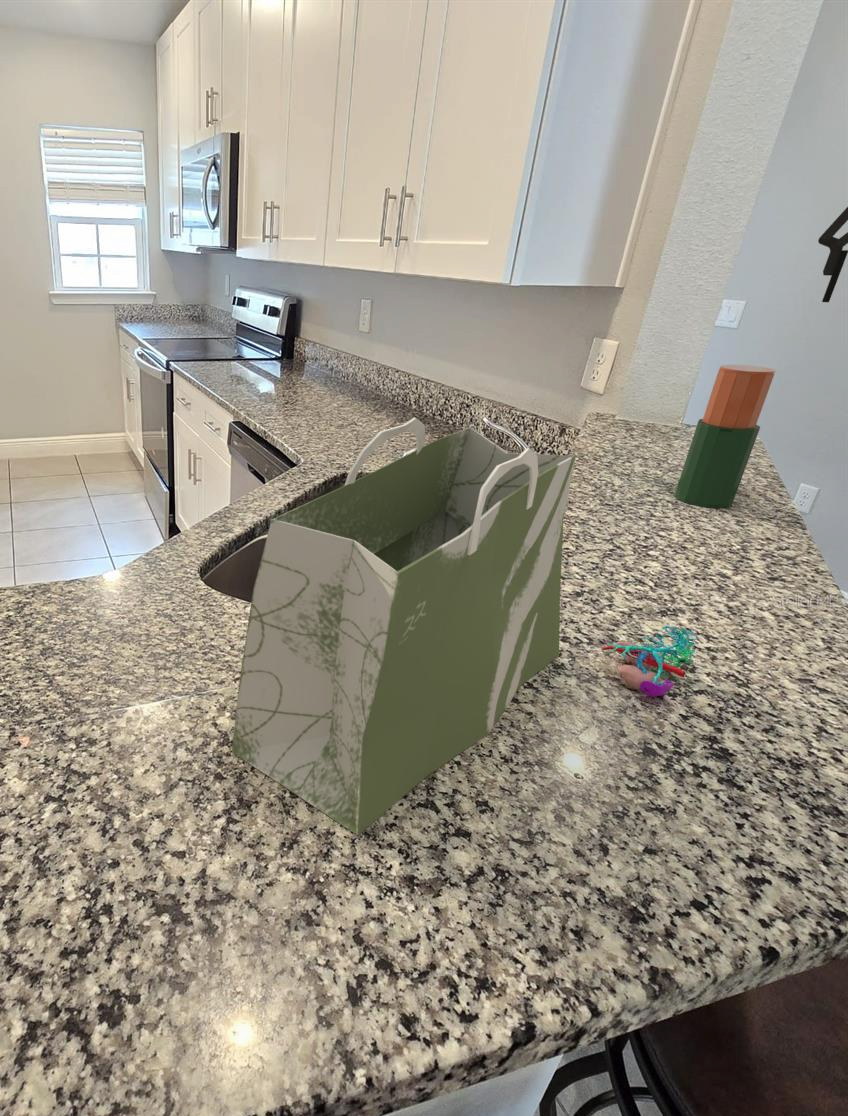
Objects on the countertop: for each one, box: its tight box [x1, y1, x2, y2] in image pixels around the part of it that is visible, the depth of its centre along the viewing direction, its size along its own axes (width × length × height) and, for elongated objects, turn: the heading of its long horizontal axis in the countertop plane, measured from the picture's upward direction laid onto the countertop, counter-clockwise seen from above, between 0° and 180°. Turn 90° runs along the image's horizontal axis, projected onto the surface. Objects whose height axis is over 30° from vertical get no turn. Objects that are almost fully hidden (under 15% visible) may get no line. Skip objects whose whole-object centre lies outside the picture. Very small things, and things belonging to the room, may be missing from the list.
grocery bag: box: [231, 417, 577, 836], centre depth 52 cm, size 32×14×23 cm, turn 136°
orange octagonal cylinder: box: [702, 364, 776, 429], centre depth 98 cm, size 7×7×8 cm
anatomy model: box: [601, 625, 698, 698], centre depth 60 cm, size 5×8×7 cm
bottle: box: [674, 418, 761, 509], centre depth 102 cm, size 8×8×17 cm
